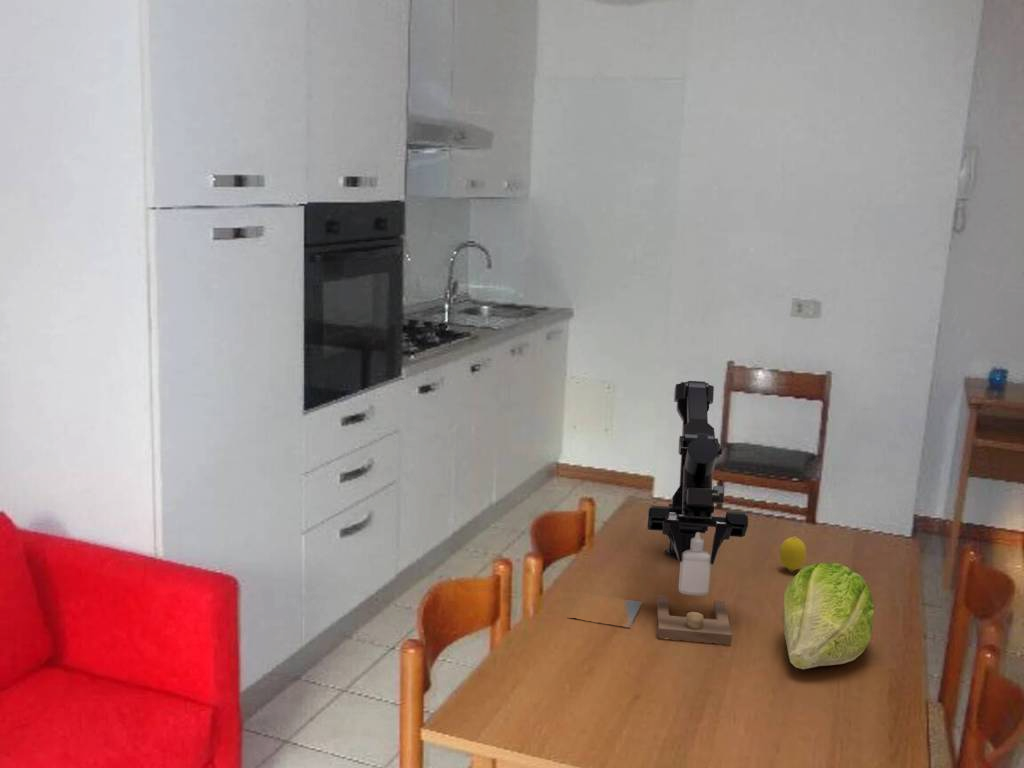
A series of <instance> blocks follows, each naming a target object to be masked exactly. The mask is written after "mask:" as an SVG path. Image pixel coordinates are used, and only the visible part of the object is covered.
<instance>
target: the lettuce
mask: <svg viewBox="0 0 1024 768" xmlns="http://www.w3.org/2000/svg"><path fill="white" fill-rule="evenodd" d="M874 611H875V604H874V599H873V596H872V593H871V590H870V587H869V584H868V582H866V580H865V579H864V577H863V576H861V575H860V574H859V573H858V572H856V571H854V570H853V569H851V568H849V567H847V566H845V565H844V564H842V563H835V562H833V563H832V562H830V563H829V562H816V563H814V564H810V565H806V566H804V567H803V568H802V569H800V570H799V571H798V572H797V574H795V575H794V577H793V578H792V579H791V580H790V581H789V583H788V584H787V587H786V588H785V591H784V595H783V605H782V621H783V622H782V623H783V635H784V638H785V642H786V648H787V654H788V658H789V662H790V663H791V664H792V666H793V667H795V668H797V669H801V670H807V669H811V668H817V667H826V666H835V665H843V664H846V663H850V662H852V661H855V660H856V659H857V658H858V657H859V656H861V654H863V652H864V651H865V650H866V648H867V647H868V645H869V643H870V641H871V636H872V631H873V623H874V613H875V612H874Z"/></svg>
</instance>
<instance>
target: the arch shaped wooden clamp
mask: <svg viewBox="0 0 1024 768" xmlns="http://www.w3.org/2000/svg"><path fill="white" fill-rule="evenodd" d="M656 597H657V599H656V614H657V615H656V619H657V620H658V623H657V638H669V639H676V640H675V641H679V640H685V641H684V642H690V641H693V642H692V643H701V642H704V643H705V644H712V643H715V644H716V645H723V644H725V645H727V646H731V645H732V644H731V643H732V636H733V635H732V630H731V626H730V621H729V616H728V610H727V606H726V601H724V600H716V599H715V600H714V601H713V609H712V610H713V616H714V618H713V619H711V618H704V615H703V614H702V613H700V612H696V611H690V612H688V613H686V616H677V615H670V611H669V610H670V609H669V598H668V597H669V596H667V595H666V596H665V595H657V596H656ZM704 643H703V644H704ZM715 644H714V645H715ZM725 645H724V646H725Z"/></svg>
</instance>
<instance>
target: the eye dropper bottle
mask: <svg viewBox="0 0 1024 768" xmlns="http://www.w3.org/2000/svg"><path fill="white" fill-rule="evenodd" d="M704 544H705V540H704V538H702V537H701V533H700V532H696V535H695V537H694V538H692V539H691V545H690V550H686V551H684V552H683V553H682V560H681V562H679V575H678V576H679V577H678V592H679V593H680V594H683V595H686V596H687V595H688V596H696V597H697V596H698V597H699V596H700V597H701V596H707V595H708V594H709V593H710V582H711V581H710V580H711V568H712V564H711V553H709V552H707V551H705V550H704Z"/></svg>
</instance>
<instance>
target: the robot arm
mask: <svg viewBox="0 0 1024 768" xmlns="http://www.w3.org/2000/svg"><path fill="white" fill-rule="evenodd" d="M714 387H715V386H714V385H711V384H709V382H706V381H699V380H687V381H681V382H680V383H676V384H675V386H674V394H673V397H674V398H673V401H674V403H676V412H677V414H678V416H679V417H680V419H681V421H682V430H681V431H682V432H681V433H682V434H681V435H679V437H678V454H679V455H680V469H679V472H680V473H679V486H678V488H677V490H676V491H675V492H674V494H672V497H671V503H668V506H664V505H663V506H662V505H653V504H652V505H651V506H649V508H648V513H647V525H646V527H647V529H648V530H649V531H659V532H662V535H664V536H665V535H666V536H667V537H668V540H669V548H667V549H663V553H665V554H666V555H669V556H671V557H672V558H675V559H676V560H678V562H679V563H680V562H681V560H682V553H683V552H684V551H686V550H690V545H691V539H692V538H694V537H695V535H696V532H700V534H706V532H708V529H709V527H710V528H711V527H712V528H715V529H714V534H713V539H712V549H711V553H710V556H711V566H712V565H714V563H715V560H716V557H717V555H718V551H719V549H720V547H721V545H722V544H723V542H724V540H730V537H735V538H742V537H745V536H746V533H747V529H748V527H749V517H748V515H747V513H746V512H742V511H730V510H727V511H726V513H725V517H721V516H720V517H719V516H713V514H714V512H715V504H719V505H720V504H721V505H722V504H723V503H724V499H725V498H724V494H725V493H724V492H725V491H724V489H725V488H724V486H722V485H714V486H713V473H714V471H715V466H716V463H717V458H719V456H720V455H723V448H722V447H723V446H722V445H721V443H720V441H719V439H718V438H716V434H715V428H714V427H713V426H712V425H711V424H710V423H709V421H708V411H709V410H710V405H712V404H713V403H714V396H715V395H714V391H715V388H714Z"/></svg>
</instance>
